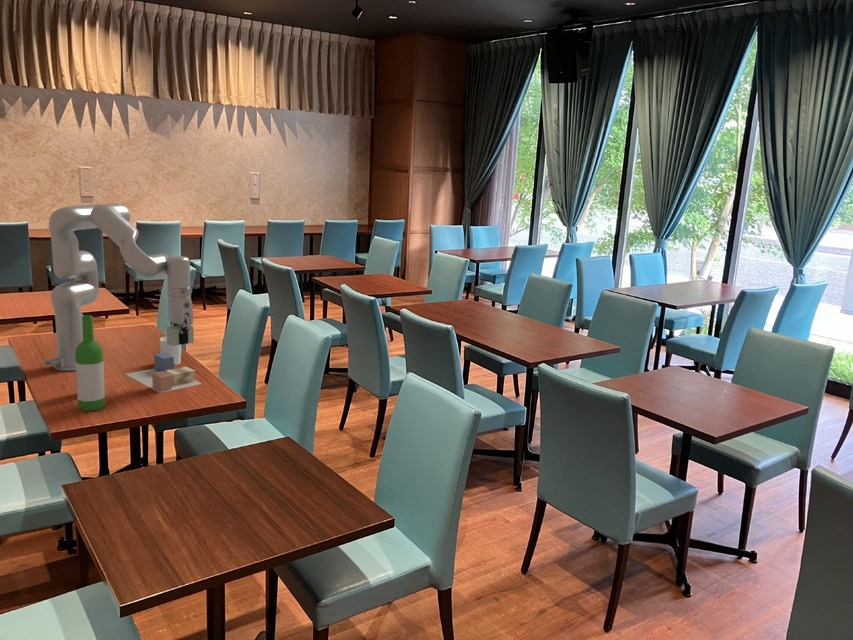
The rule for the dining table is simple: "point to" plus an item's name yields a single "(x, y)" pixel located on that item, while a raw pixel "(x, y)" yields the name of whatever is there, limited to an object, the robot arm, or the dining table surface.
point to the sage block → (174, 335)
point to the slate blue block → (163, 362)
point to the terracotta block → (162, 381)
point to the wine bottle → (89, 369)
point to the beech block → (182, 375)
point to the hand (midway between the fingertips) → (180, 341)
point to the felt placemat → (146, 379)
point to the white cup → (171, 350)
